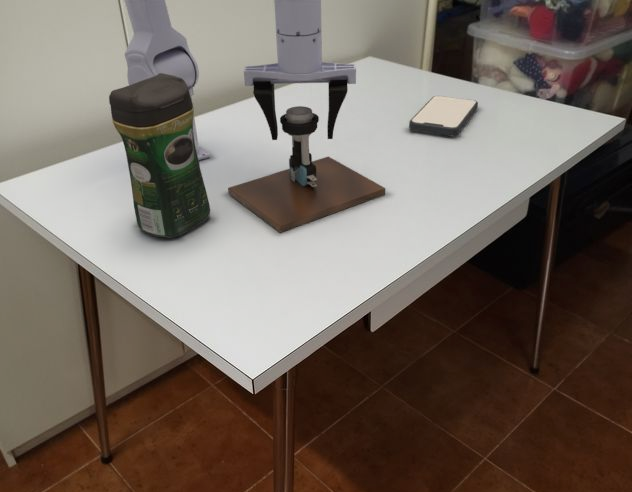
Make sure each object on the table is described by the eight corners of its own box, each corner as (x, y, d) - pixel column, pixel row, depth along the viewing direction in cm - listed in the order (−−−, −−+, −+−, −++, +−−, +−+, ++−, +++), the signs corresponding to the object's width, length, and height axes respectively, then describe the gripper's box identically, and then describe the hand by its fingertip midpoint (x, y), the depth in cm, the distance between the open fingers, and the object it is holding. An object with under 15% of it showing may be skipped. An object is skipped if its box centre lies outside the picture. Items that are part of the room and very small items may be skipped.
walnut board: (280, 232, 82) (279, 226, 81) (228, 194, 91) (227, 187, 90) (385, 194, 90) (385, 188, 89) (328, 162, 98) (328, 156, 98)
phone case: (432, 103, 118) (406, 131, 107) (433, 94, 117) (406, 122, 106) (478, 109, 115) (456, 138, 104) (480, 100, 114) (458, 129, 103)
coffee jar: (179, 201, 89) (155, 64, 77) (220, 216, 86) (201, 75, 74) (127, 229, 84) (92, 85, 71) (168, 246, 80) (138, 98, 68)
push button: (330, 185, 90) (330, 116, 83) (297, 194, 88) (294, 124, 82) (309, 168, 94) (307, 101, 88) (277, 176, 93) (273, 108, 86)
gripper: (355, 21, 81) (353, 125, 90) (244, 23, 81) (253, 126, 90) (357, 35, 76) (355, 144, 84) (238, 38, 76) (248, 146, 85)
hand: (302, 136), depth 87 cm, fingers open, 7 cm apart
